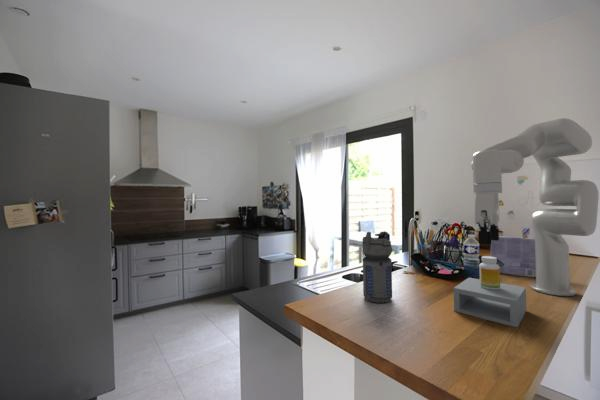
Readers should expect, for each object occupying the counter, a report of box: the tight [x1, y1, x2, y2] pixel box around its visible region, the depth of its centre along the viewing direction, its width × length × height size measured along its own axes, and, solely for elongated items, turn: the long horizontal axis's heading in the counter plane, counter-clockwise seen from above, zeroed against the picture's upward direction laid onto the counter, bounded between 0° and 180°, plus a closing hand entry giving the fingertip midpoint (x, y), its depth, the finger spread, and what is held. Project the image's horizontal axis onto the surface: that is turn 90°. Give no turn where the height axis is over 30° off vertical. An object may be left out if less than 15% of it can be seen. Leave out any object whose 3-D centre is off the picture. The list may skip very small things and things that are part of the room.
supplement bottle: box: [478, 255, 501, 290], centre depth 86 cm, size 5×5×10 cm
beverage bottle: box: [361, 230, 393, 304], centre depth 99 cm, size 10×13×25 cm
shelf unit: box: [453, 277, 527, 328], centre depth 86 cm, size 16×16×8 cm
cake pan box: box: [490, 235, 536, 278], centre depth 126 cm, size 19×5×18 cm, turn 49°
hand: (489, 242), depth 86 cm, fingers open, 9 cm apart
